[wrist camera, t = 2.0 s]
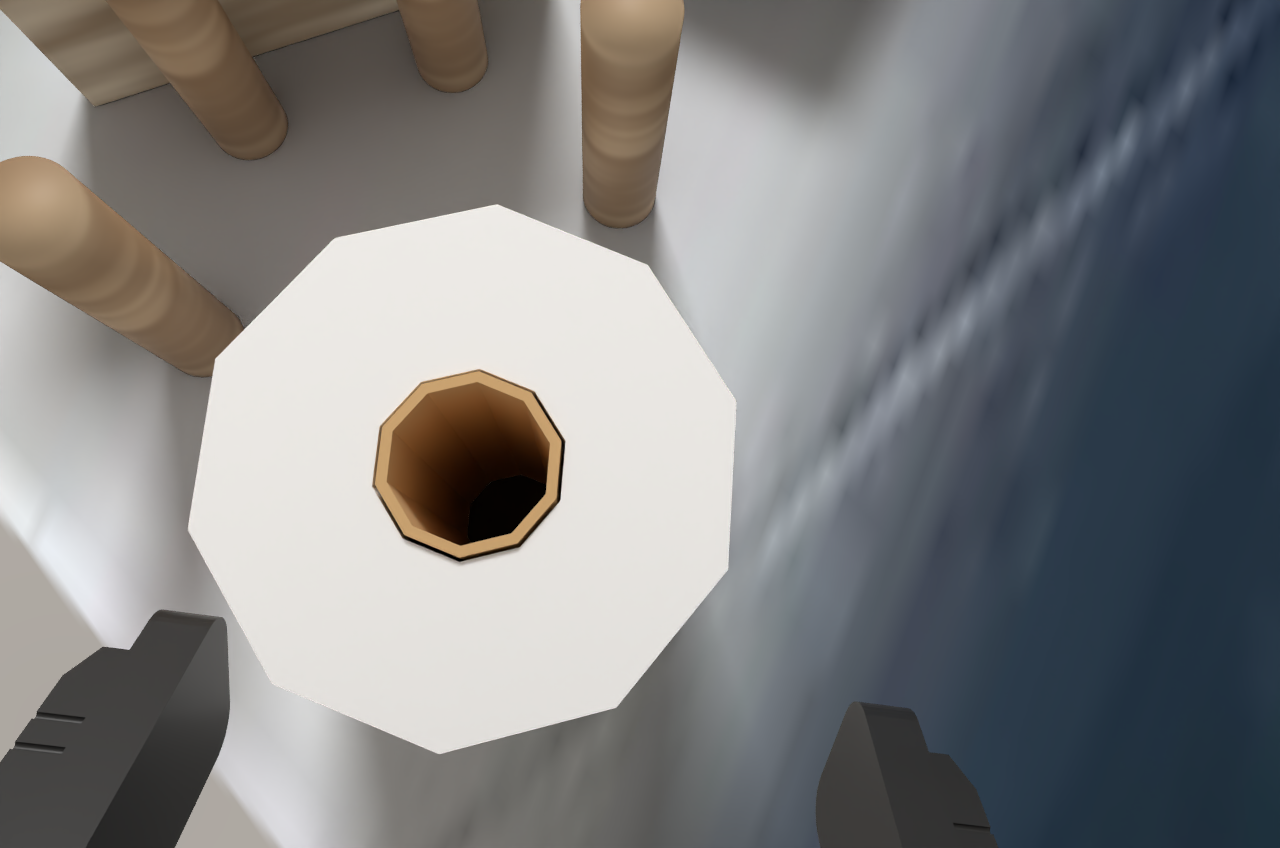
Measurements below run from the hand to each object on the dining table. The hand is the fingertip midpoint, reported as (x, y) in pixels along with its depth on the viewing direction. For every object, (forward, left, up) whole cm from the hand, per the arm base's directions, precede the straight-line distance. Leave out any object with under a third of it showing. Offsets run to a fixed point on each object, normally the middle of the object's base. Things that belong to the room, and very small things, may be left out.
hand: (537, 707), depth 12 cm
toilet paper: (+4, -1, -17) cm, 18 cm away
